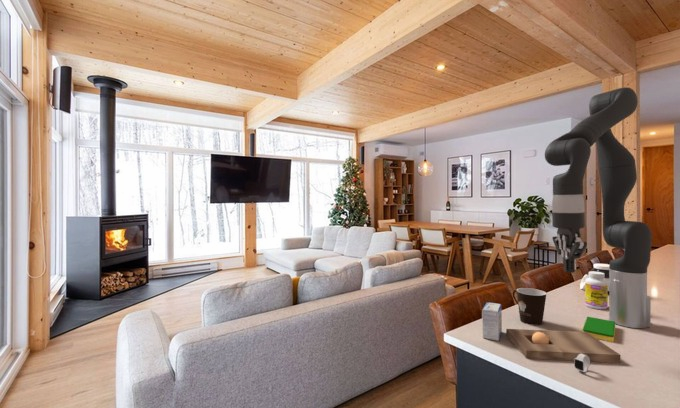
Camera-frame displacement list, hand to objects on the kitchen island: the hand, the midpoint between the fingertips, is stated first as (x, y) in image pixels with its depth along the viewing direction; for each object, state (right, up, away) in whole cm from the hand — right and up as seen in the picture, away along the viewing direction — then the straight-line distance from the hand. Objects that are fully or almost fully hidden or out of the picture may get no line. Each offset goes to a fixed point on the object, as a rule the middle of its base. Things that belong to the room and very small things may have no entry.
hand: (569, 271), depth 93 cm
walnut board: (-5, -20, -3) cm, 21 cm away
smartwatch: (-7, -21, -15) cm, 27 cm away
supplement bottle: (+31, -19, +30) cm, 47 cm away
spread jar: (+47, -19, +49) cm, 70 cm away
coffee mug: (-1, -20, +18) cm, 27 cm away
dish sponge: (+15, -21, +8) cm, 26 cm away
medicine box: (-19, -21, +6) cm, 29 cm away
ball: (-10, -18, -2) cm, 21 cm away
